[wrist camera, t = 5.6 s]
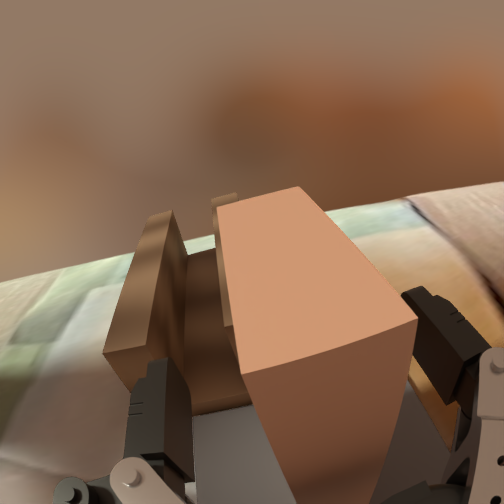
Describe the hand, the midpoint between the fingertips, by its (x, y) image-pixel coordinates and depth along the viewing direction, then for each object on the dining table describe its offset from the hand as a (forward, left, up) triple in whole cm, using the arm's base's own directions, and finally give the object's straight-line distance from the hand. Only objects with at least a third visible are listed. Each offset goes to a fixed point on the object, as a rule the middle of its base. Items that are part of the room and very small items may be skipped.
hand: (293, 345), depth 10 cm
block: (+1, -2, -7) cm, 7 cm away
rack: (-8, +10, -8) cm, 15 cm away
